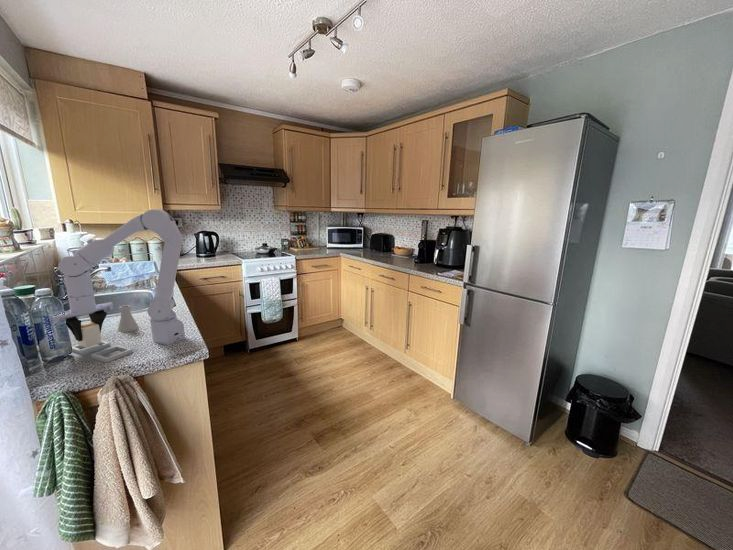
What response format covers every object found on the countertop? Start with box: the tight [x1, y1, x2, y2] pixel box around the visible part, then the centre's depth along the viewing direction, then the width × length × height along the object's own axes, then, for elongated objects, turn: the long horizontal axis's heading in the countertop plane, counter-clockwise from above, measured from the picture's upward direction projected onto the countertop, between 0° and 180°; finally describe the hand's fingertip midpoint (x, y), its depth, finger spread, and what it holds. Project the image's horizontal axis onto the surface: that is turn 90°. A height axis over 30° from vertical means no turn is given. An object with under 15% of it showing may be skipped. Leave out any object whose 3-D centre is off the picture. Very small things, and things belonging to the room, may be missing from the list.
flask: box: [116, 304, 139, 333], centre depth 109 cm, size 7×7×10 cm
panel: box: [68, 339, 139, 366], centre depth 93 cm, size 18×10×2 cm, turn 68°
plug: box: [77, 321, 102, 348], centre depth 93 cm, size 4×4×7 cm
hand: (88, 337), depth 94 cm, fingers closed on plug, 4 cm apart
